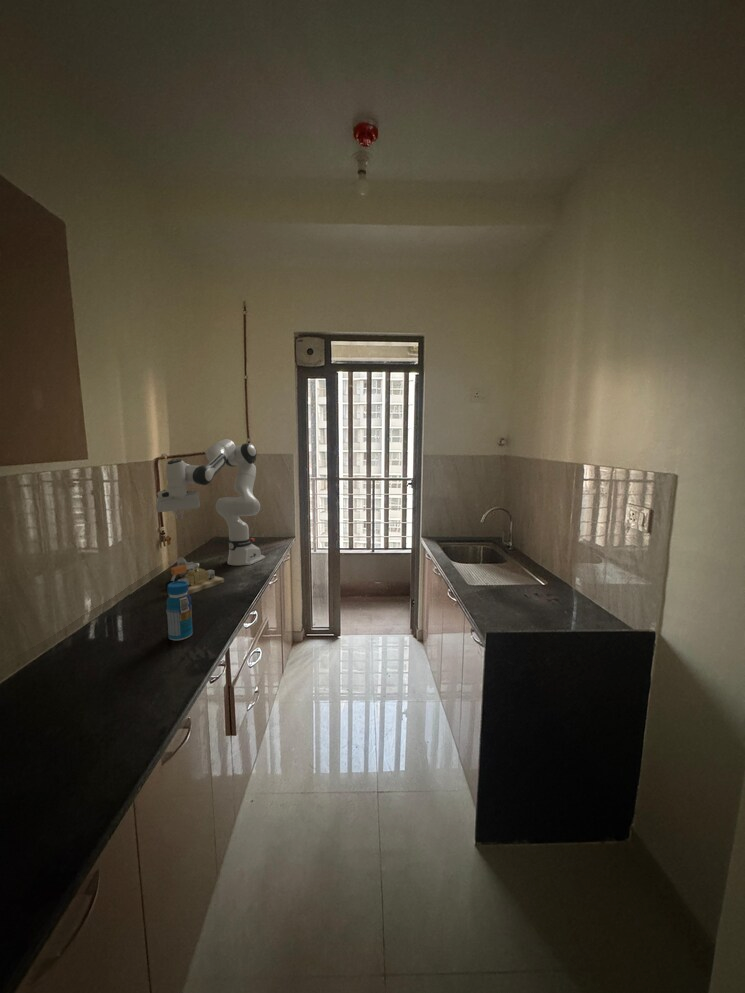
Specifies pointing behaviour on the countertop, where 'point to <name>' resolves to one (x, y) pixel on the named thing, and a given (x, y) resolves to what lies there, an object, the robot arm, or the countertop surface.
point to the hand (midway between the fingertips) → (179, 518)
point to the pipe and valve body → (198, 576)
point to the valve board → (205, 585)
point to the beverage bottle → (179, 611)
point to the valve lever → (182, 568)
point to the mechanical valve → (181, 562)
